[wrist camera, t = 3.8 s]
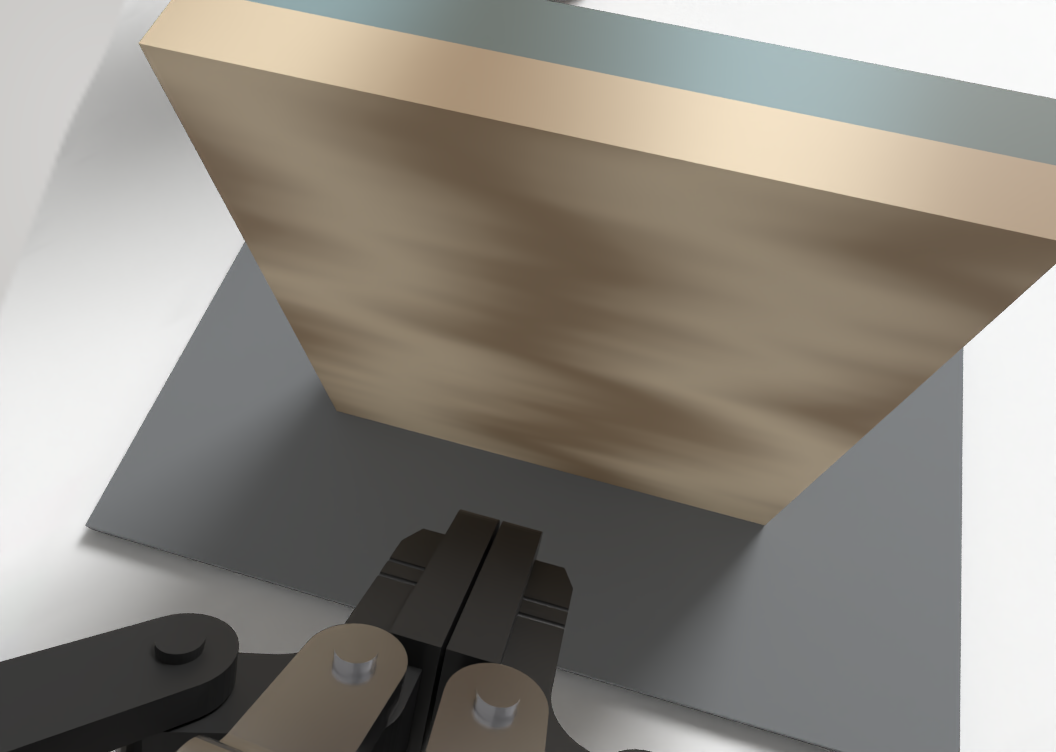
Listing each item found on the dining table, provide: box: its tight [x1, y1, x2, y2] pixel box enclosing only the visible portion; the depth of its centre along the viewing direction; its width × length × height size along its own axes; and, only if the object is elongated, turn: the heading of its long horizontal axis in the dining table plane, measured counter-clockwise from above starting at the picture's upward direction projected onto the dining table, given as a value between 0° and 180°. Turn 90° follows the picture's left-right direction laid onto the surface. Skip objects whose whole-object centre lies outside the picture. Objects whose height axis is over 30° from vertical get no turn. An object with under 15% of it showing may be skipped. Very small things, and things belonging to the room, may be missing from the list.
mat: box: [85, 242, 963, 752], centre depth 22 cm, size 22×20×1 cm
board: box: [139, 0, 1056, 525], centre depth 15 cm, size 12×2×12 cm, turn 74°
